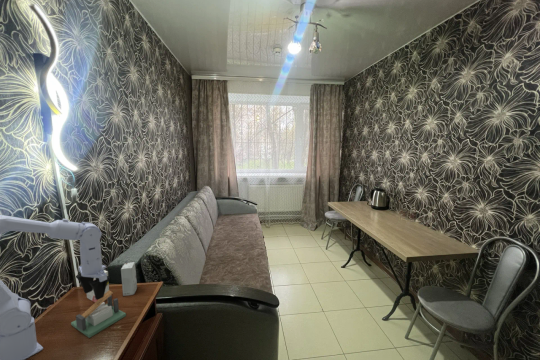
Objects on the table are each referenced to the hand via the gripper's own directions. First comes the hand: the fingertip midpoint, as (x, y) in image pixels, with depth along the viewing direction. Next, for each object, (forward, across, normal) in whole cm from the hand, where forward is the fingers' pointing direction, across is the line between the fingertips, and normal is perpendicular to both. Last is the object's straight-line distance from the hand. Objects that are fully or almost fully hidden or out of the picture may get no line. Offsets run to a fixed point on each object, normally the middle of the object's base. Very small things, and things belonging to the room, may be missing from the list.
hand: (94, 294), depth 83 cm
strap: (+4, 0, -1) cm, 4 cm away
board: (+10, 0, -1) cm, 10 cm away
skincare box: (+11, +8, -17) cm, 22 cm away
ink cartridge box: (+11, +15, -8) cm, 20 cm away
